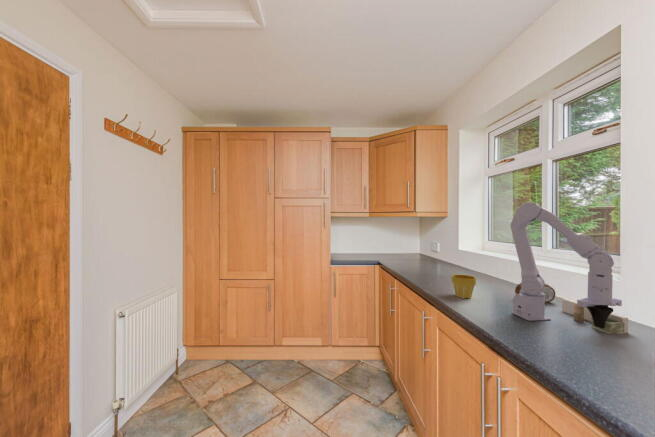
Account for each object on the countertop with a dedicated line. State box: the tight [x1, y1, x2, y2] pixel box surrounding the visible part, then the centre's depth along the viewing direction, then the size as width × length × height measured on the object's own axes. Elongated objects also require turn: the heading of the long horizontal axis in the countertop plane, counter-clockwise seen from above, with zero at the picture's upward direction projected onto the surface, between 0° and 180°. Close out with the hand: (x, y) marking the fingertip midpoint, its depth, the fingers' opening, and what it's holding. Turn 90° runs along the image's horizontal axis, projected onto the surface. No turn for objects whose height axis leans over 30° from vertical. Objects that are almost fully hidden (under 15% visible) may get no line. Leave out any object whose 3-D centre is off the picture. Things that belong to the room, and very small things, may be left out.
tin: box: [514, 283, 556, 304], centre depth 118 cm, size 15×3×8 cm, turn 77°
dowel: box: [573, 304, 585, 323], centre depth 96 cm, size 3×3×6 cm
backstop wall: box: [561, 298, 629, 334], centre depth 96 cm, size 2×20×5 cm, turn 6°
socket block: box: [591, 318, 625, 335], centre depth 88 cm, size 5×5×4 cm
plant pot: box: [451, 273, 477, 299], centre depth 125 cm, size 10×10×10 cm
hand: (598, 327), depth 87 cm, fingers closed
